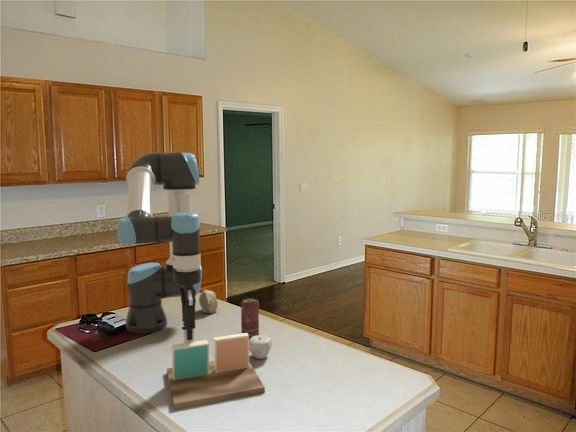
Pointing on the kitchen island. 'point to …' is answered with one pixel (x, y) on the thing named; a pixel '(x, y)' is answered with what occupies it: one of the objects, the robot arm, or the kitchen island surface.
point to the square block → (190, 359)
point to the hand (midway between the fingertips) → (189, 349)
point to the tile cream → (231, 352)
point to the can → (250, 316)
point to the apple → (260, 346)
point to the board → (214, 386)
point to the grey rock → (208, 301)
